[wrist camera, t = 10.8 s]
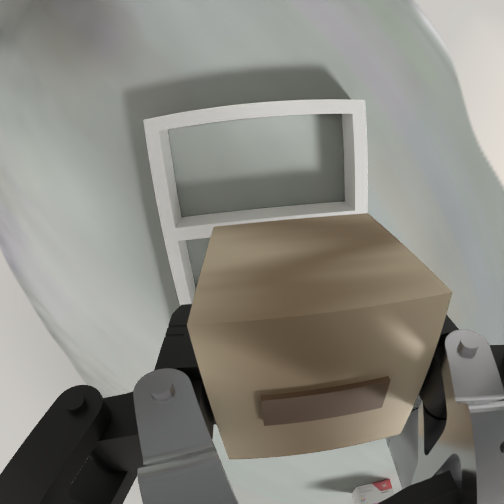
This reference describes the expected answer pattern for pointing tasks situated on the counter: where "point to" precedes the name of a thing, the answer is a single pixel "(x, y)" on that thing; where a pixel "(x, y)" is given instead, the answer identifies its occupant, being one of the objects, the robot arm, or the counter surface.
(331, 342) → the beech letter block
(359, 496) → the ink cartridge box
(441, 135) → the counter surface
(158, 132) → the divider frame
